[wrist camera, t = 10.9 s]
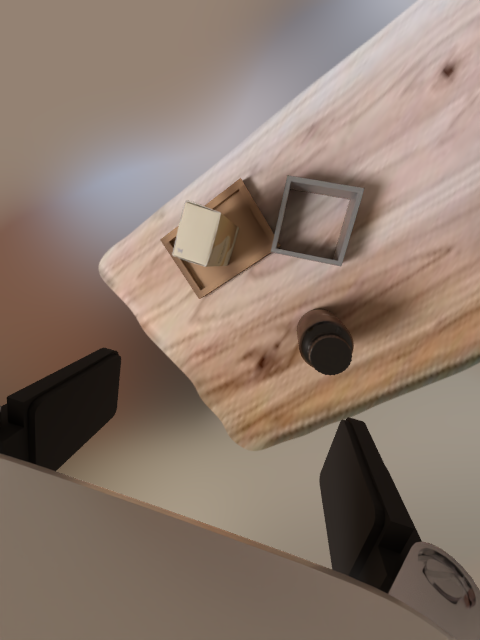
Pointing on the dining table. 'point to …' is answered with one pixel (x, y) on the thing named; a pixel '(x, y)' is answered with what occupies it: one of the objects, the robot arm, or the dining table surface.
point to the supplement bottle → (324, 342)
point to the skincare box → (204, 236)
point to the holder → (328, 190)
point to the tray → (248, 245)
